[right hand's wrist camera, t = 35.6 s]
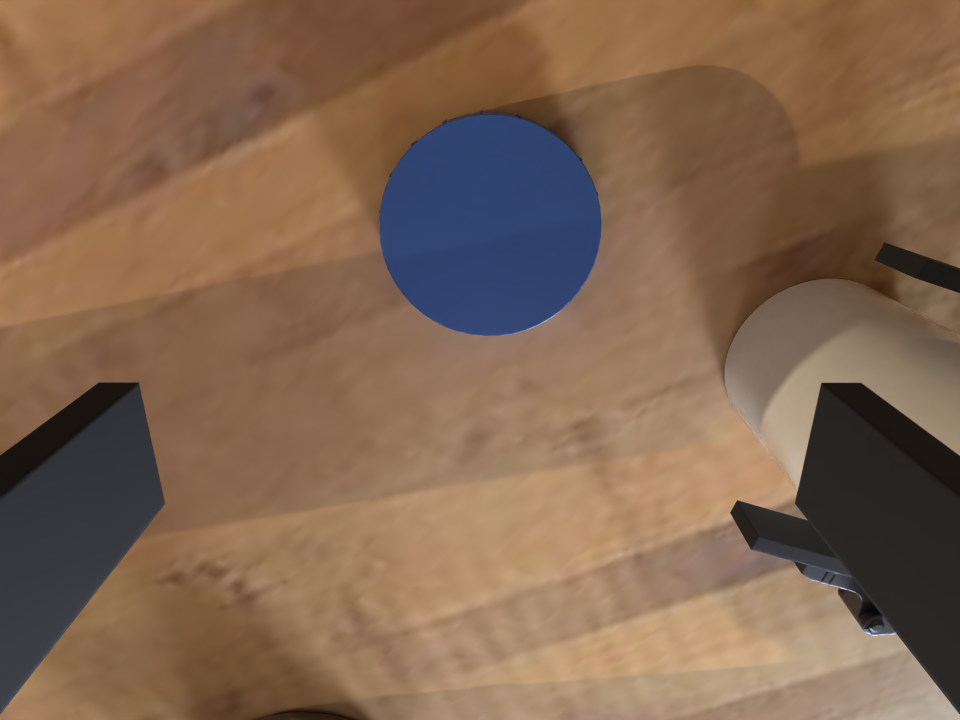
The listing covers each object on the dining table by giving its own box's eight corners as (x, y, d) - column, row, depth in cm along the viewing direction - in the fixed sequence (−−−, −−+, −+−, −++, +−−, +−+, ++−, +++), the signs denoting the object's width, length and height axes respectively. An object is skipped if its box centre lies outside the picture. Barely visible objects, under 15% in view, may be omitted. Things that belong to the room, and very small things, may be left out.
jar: (928, 386, 34) (1396, 704, 17) (766, 466, 36) (1029, 825, 19) (866, 242, 31) (1356, 443, 14) (694, 339, 34) (926, 622, 16)
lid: (341, 215, 31) (330, 225, 29) (497, 59, 28) (497, 56, 26) (482, 357, 34) (482, 376, 32) (636, 228, 31) (647, 238, 29)
